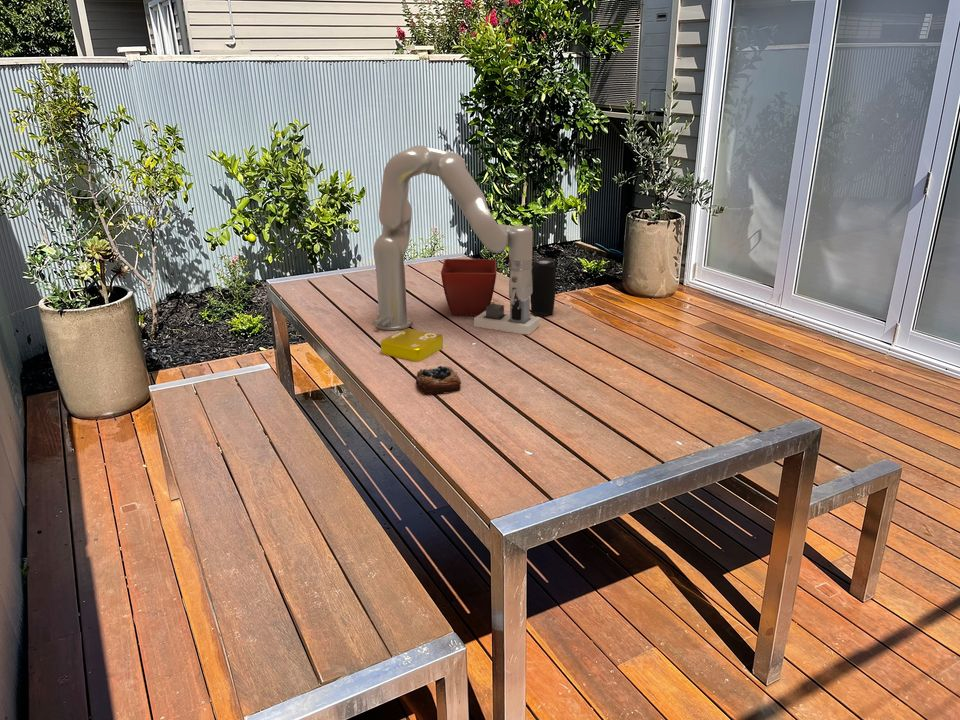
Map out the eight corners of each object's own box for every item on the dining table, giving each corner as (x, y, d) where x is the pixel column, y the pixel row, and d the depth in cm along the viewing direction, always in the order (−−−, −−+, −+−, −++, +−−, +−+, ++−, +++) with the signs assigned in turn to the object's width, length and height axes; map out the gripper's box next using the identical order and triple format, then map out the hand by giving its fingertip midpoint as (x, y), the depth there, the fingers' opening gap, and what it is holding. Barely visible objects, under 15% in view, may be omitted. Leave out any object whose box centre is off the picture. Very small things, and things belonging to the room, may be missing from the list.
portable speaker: (528, 316, 249) (529, 262, 242) (532, 308, 257) (533, 256, 250) (552, 318, 247) (554, 264, 240) (555, 310, 256) (557, 257, 249)
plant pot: (496, 319, 247) (496, 272, 240) (441, 319, 247) (440, 272, 241) (496, 303, 264) (496, 259, 258) (445, 302, 265) (444, 258, 258)
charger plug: (523, 325, 234) (524, 299, 231) (510, 323, 236) (510, 297, 233) (529, 320, 238) (529, 295, 235) (515, 318, 240) (516, 293, 237)
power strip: (528, 335, 232) (529, 316, 229) (474, 326, 240) (474, 308, 237) (547, 319, 247) (548, 301, 244) (495, 311, 254) (495, 294, 252)
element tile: (406, 339, 229) (406, 325, 227) (445, 348, 222) (445, 333, 220) (378, 354, 217) (377, 340, 215) (418, 363, 210) (418, 348, 208)
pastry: (412, 382, 197) (411, 362, 195) (453, 376, 201) (453, 357, 198) (422, 398, 187) (421, 377, 185) (465, 391, 191) (464, 372, 189)
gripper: (521, 271, 221) (520, 326, 228) (540, 259, 235) (539, 311, 242) (499, 269, 224) (499, 323, 231) (519, 257, 238) (519, 308, 245)
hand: (519, 316), depth 236 cm, fingers closed on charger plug, 5 cm apart
